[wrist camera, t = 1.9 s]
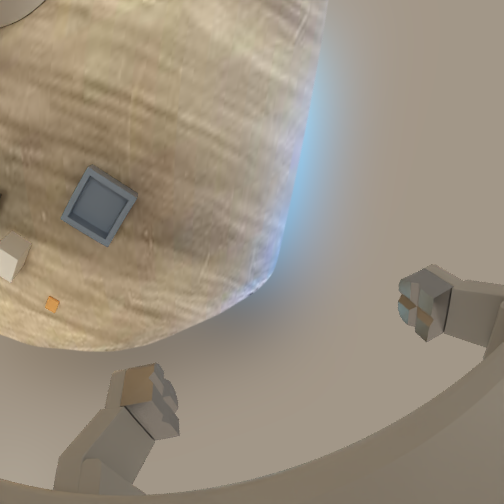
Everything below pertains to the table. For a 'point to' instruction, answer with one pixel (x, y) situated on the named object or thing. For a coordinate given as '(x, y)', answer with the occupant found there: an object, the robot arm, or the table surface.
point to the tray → (99, 205)
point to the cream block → (12, 255)
